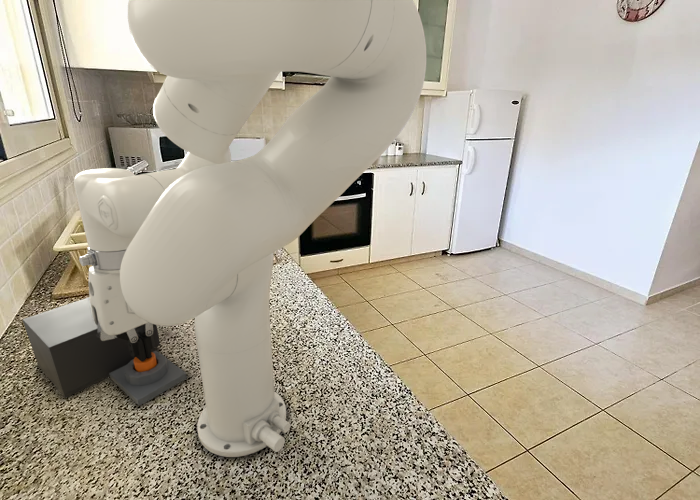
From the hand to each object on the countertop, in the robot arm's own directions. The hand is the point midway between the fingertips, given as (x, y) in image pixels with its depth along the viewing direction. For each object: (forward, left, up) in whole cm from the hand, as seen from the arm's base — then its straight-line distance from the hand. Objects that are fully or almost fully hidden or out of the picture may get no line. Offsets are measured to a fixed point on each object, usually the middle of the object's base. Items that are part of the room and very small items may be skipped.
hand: (142, 356), depth 62 cm
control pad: (0, 0, -5) cm, 5 cm away
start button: (0, 0, -2) cm, 2 cm away
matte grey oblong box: (+12, +3, -5) cm, 13 cm away
